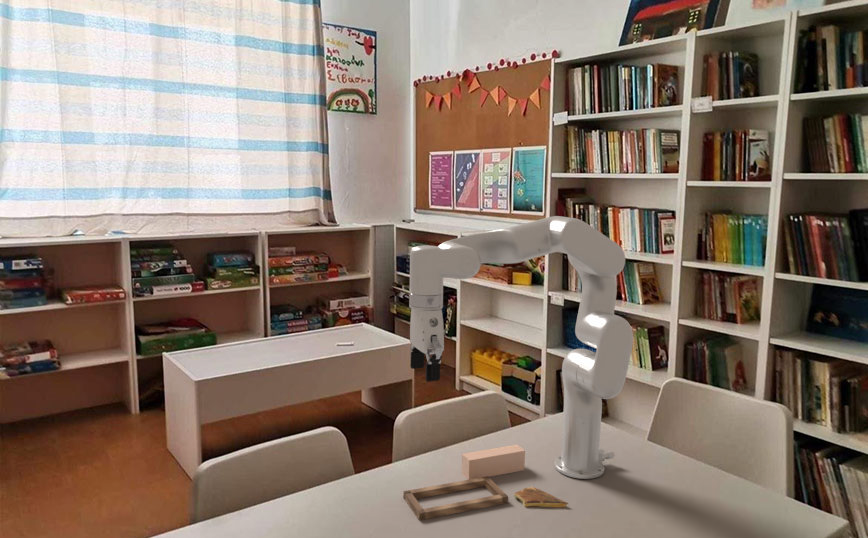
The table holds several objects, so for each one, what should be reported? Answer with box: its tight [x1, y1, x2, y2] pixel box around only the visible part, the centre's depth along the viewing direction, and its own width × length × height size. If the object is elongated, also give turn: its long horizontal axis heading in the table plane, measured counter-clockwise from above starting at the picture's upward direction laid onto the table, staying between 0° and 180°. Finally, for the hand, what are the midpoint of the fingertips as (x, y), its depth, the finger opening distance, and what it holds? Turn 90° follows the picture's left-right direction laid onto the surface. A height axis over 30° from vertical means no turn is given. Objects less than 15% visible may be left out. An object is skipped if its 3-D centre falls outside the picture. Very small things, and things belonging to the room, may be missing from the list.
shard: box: [513, 486, 569, 508], centre depth 148 cm, size 11×8×2 cm
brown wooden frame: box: [402, 476, 509, 521], centre depth 149 cm, size 22×10×2 cm, turn 112°
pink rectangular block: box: [461, 444, 526, 480], centre depth 164 cm, size 16×4×6 cm, turn 113°
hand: (424, 374), depth 146 cm, fingers open, 9 cm apart
